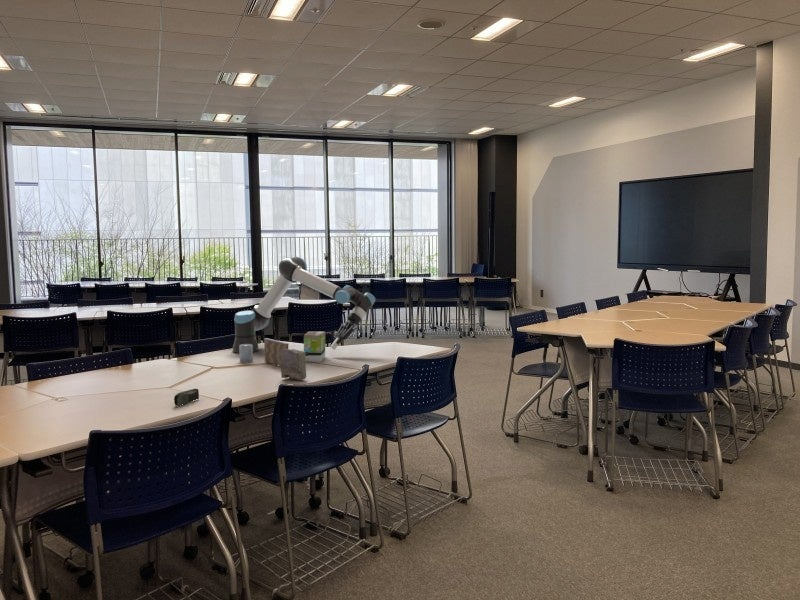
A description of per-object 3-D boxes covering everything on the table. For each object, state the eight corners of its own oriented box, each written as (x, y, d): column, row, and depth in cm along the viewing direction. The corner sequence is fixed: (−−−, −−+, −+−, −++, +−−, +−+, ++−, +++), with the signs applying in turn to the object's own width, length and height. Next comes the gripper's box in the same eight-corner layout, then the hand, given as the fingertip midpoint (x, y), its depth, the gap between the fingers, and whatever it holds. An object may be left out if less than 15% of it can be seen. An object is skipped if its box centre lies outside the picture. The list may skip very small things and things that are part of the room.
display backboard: (264, 361, 338) (263, 338, 337) (267, 361, 339) (266, 338, 338) (286, 368, 320) (285, 343, 319) (289, 368, 321) (288, 343, 320)
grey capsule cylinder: (237, 361, 341) (237, 344, 340) (249, 359, 345) (249, 343, 344) (243, 363, 335) (242, 346, 334) (255, 361, 340) (254, 345, 339)
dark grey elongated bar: (193, 387, 260) (170, 395, 245) (200, 387, 259) (176, 395, 245) (194, 399, 260) (170, 407, 246) (200, 399, 259) (177, 408, 245)
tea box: (321, 362, 337) (321, 334, 335) (303, 362, 337) (302, 334, 336) (325, 356, 352) (325, 330, 350) (308, 356, 352) (307, 330, 351)
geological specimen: (306, 379, 293) (306, 348, 292) (298, 382, 288) (298, 350, 286) (288, 377, 298) (287, 346, 297) (280, 380, 293) (279, 348, 291)
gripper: (366, 321, 357) (343, 353, 348) (353, 319, 367) (330, 350, 358) (359, 312, 353) (334, 345, 344) (346, 310, 363) (322, 342, 354)
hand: (332, 347), depth 351 cm, fingers closed
